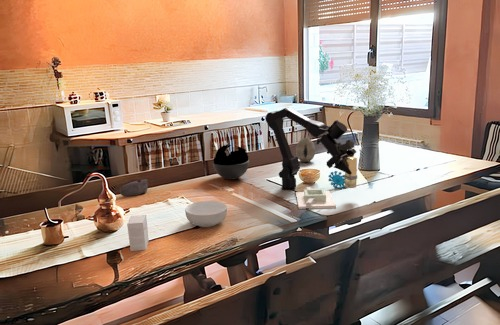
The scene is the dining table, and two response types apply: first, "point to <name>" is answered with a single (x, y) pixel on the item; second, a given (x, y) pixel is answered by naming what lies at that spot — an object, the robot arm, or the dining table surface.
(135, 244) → the small box
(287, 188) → the robot arm
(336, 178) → the teal spiky figurine
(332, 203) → the shaft mount
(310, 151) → the decorative egg
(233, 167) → the coal bowl
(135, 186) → the perforated stone tool
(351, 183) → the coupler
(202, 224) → the cereal bowl
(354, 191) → the dining table surface
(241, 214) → the dining table surface
